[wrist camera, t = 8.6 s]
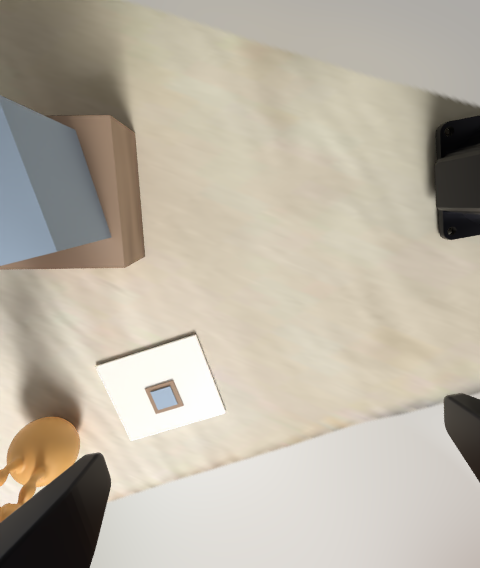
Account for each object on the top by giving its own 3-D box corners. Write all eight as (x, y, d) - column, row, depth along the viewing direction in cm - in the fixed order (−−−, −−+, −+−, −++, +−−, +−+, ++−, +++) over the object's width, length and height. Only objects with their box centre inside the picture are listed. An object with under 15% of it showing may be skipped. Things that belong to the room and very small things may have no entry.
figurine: (-6, 426, 23) (-266, 662, 11) (24, 356, 21) (-231, 538, 10) (105, 474, 24) (-24, 737, 12) (140, 410, 22) (34, 633, 11)
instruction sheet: (195, 334, 21) (195, 336, 21) (226, 411, 22) (225, 414, 22) (96, 365, 22) (94, 368, 21) (131, 439, 23) (129, 443, 23)
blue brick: (75, 129, 15) (-3, 93, 10) (111, 237, 16) (56, 251, 11) (-28, 157, 15) (-153, 135, 10) (16, 261, 16) (-79, 286, 11)
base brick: (136, 133, 19) (110, 115, 15) (146, 255, 20) (125, 267, 16) (13, 135, 19) (-47, 116, 15) (33, 257, 20) (-16, 269, 16)
